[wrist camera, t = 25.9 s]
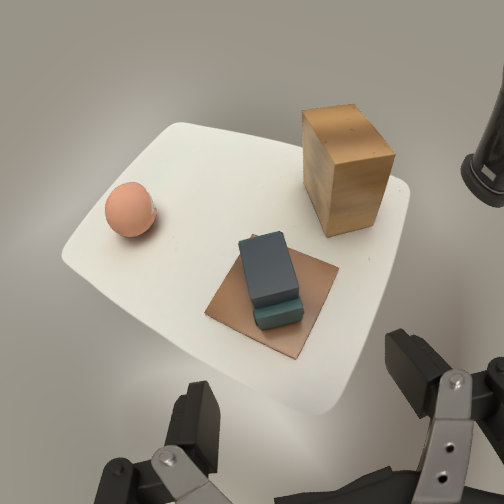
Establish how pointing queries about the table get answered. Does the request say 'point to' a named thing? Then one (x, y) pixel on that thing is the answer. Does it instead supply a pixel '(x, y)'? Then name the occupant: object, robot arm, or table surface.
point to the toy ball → (130, 209)
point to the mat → (241, 309)
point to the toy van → (271, 280)
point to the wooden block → (344, 167)
